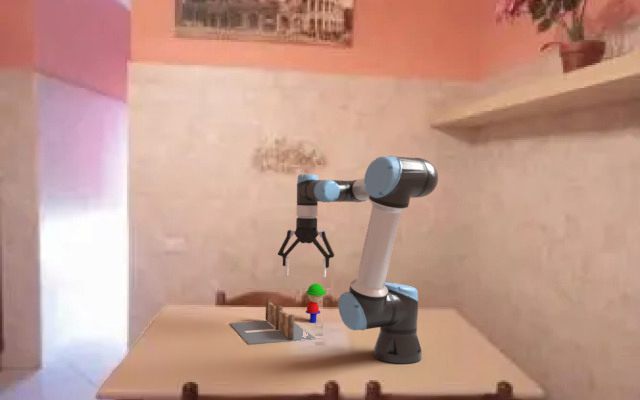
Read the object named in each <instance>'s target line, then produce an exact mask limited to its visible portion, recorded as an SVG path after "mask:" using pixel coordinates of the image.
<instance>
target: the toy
mask: <svg viewBox="0 0 640 400" xmlns="http://www.w3.org/2000/svg"><path fill="white" fill-rule="evenodd" d="M305 294H306V295H307V299H308V300H309V302H308V303H307V308H306V311H305V313H306V314H309V323H311V324H316V323H317V315H319V314H321V311H320V309H319V304H318V303H319V302H321V300H322V299H323V296H324V295H327V291H325V290H324V287H323V285H321V284H320V283H312V284H310V285H309V286H308V288H307V290H305Z"/></svg>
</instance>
